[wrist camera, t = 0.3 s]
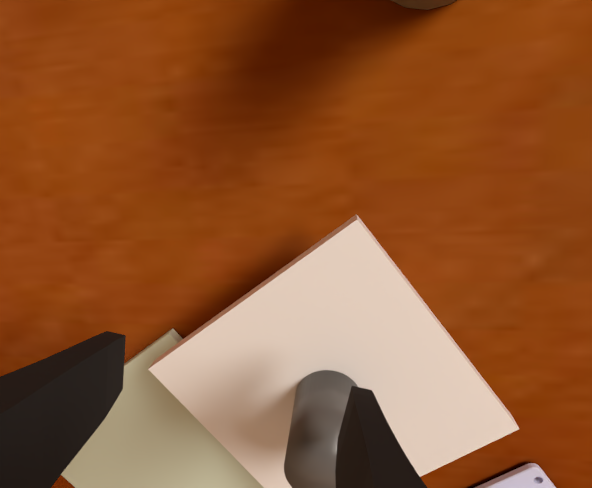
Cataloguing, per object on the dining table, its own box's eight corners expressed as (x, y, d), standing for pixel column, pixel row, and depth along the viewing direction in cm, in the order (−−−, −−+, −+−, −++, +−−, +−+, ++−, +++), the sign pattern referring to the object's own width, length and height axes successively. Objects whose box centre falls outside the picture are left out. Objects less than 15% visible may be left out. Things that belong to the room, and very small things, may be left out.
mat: (319, 484, 27) (319, 492, 26) (170, 561, 31) (166, 570, 30) (172, 328, 24) (168, 333, 24) (29, 433, 28) (23, 440, 28)
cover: (512, 416, 19) (565, 513, 15) (307, 516, 22) (299, 621, 18) (356, 214, 17) (362, 254, 12) (155, 359, 20) (101, 432, 16)
